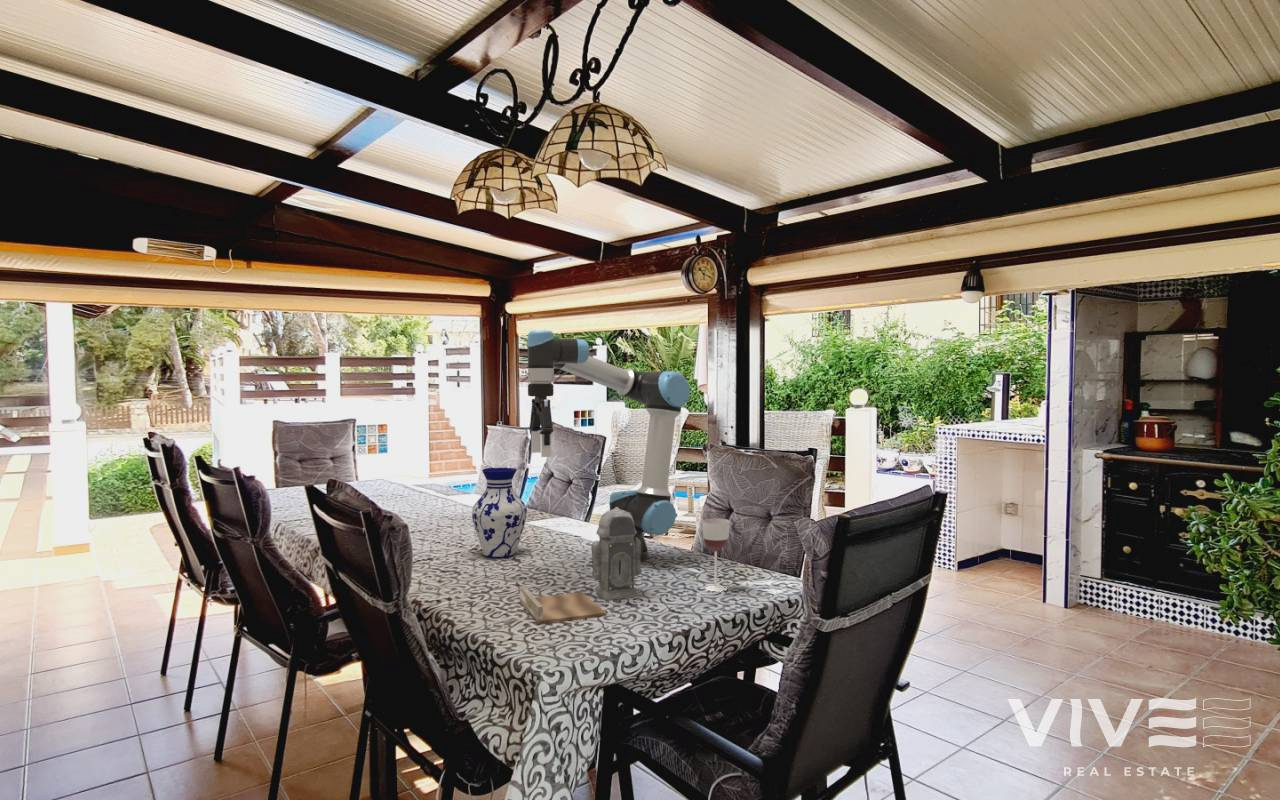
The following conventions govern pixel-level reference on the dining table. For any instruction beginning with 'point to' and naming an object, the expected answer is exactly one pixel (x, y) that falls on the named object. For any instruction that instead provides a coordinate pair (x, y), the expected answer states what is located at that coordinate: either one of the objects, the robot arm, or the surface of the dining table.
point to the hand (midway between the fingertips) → (541, 454)
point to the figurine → (616, 555)
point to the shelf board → (559, 607)
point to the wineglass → (715, 541)
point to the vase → (499, 514)
